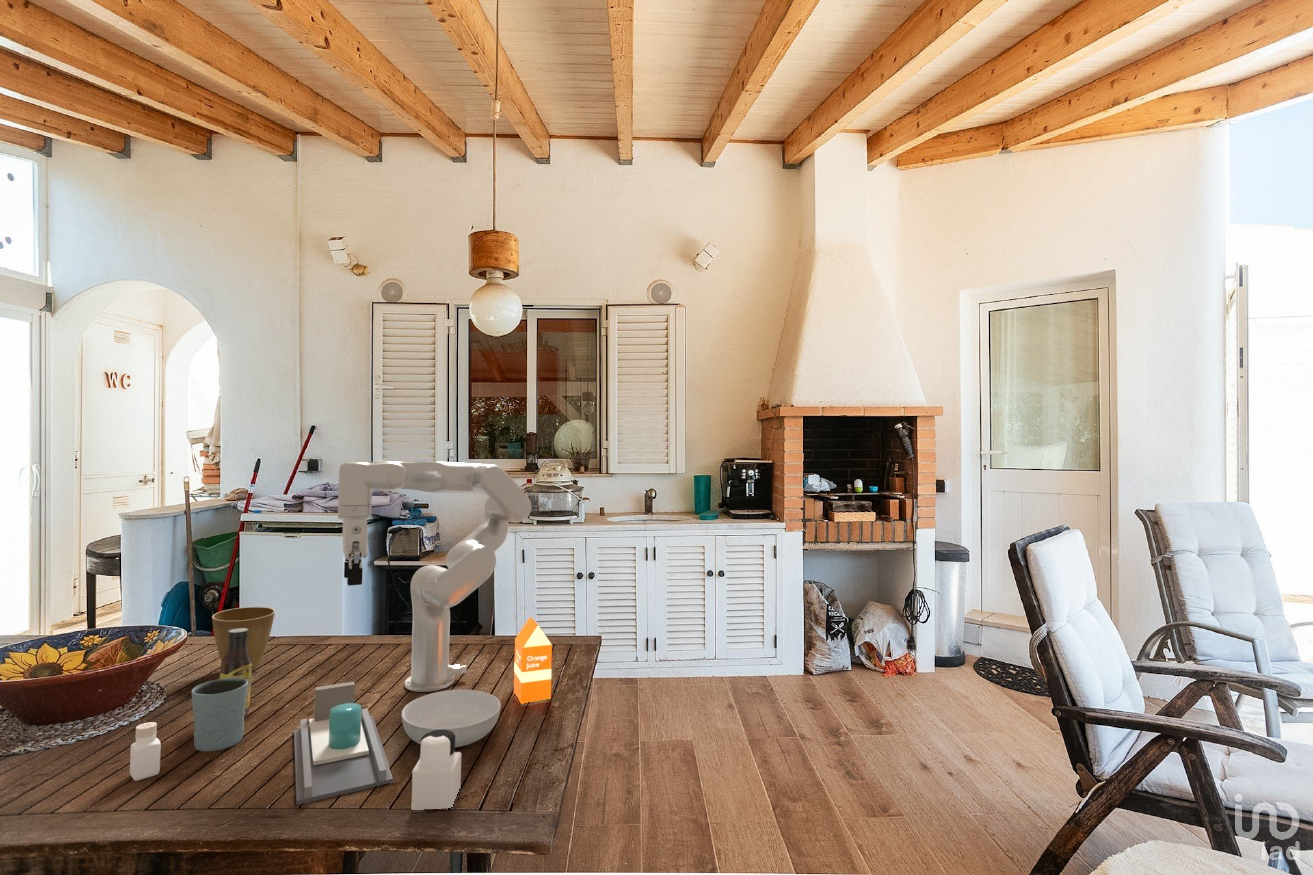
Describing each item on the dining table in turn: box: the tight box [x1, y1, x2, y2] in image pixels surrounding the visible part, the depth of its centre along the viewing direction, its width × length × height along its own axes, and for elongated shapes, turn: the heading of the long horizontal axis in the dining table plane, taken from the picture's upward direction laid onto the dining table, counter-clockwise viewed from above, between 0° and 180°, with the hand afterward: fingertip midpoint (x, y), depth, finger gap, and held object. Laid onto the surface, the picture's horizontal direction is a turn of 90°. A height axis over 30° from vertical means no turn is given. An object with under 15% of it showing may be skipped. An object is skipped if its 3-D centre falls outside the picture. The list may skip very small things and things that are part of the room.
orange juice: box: [513, 616, 553, 704], centre depth 164 cm, size 8×9×20 cm
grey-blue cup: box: [191, 678, 248, 752], centre depth 137 cm, size 10×10×12 cm
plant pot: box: [211, 606, 276, 672], centre depth 179 cm, size 15×15×16 cm
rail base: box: [293, 707, 394, 806], centre depth 131 cm, size 16×32×3 cm, turn 30°
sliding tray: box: [308, 681, 369, 766], centre depth 137 cm, size 10×22×8 cm, turn 30°
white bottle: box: [410, 729, 462, 811], centre depth 116 cm, size 7×7×12 cm
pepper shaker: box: [129, 721, 162, 782], centre depth 122 cm, size 4×4×10 cm
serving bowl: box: [401, 689, 502, 748], centre depth 141 cm, size 21×21×7 cm
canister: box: [329, 702, 362, 749], centre depth 133 cm, size 6×6×7 cm
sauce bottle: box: [219, 628, 253, 716], centre depth 150 cm, size 7×6×20 cm
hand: (352, 580), depth 158 cm, fingers open, 9 cm apart
